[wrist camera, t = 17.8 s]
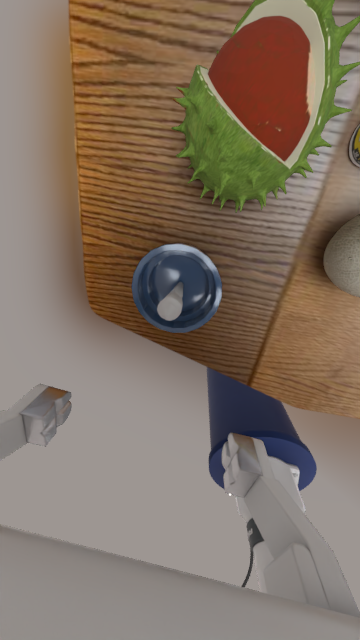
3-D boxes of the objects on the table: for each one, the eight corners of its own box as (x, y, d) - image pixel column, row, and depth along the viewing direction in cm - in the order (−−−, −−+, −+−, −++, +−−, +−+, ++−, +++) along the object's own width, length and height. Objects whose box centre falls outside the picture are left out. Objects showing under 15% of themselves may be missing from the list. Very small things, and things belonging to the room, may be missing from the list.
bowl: (226, 305, 32) (232, 318, 26) (161, 326, 35) (153, 342, 29) (203, 229, 28) (204, 227, 22) (131, 260, 31) (116, 265, 25)
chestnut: (114, 98, 16) (278, -285, 8) (188, 171, 28) (284, 44, 20) (209, 233, 15) (518, -69, 7) (244, 250, 27) (371, 147, 19)
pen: (191, 283, 30) (184, 315, 18) (180, 295, 31) (167, 333, 18) (179, 273, 30) (164, 298, 17) (169, 285, 31) (147, 318, 18)
